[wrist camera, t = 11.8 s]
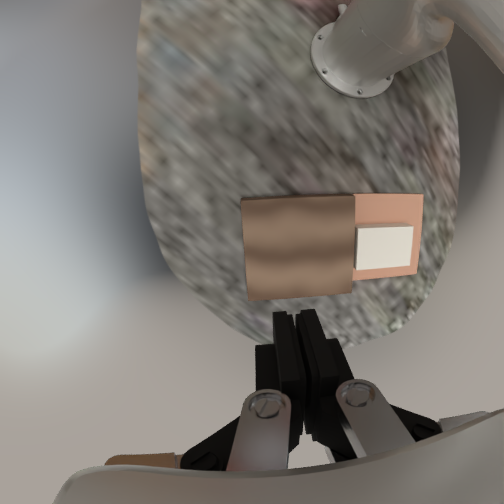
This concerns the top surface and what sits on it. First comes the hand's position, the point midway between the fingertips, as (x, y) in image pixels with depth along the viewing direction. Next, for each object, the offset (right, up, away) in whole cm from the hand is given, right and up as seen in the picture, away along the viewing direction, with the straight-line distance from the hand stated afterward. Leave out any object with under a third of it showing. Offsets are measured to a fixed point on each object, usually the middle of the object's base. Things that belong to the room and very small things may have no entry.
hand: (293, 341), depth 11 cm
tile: (+17, +5, +29) cm, 34 cm away
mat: (+19, +6, +29) cm, 35 cm away
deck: (+5, +5, +29) cm, 30 cm away
